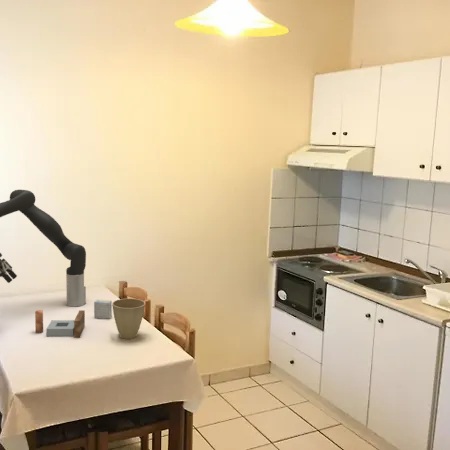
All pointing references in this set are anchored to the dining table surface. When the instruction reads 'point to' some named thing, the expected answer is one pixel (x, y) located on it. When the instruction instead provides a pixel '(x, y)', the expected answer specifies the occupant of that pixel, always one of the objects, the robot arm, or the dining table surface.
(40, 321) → the dowel
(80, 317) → the backstop wall
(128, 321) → the plant pot
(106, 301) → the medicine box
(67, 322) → the pocket block
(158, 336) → the dining table surface
